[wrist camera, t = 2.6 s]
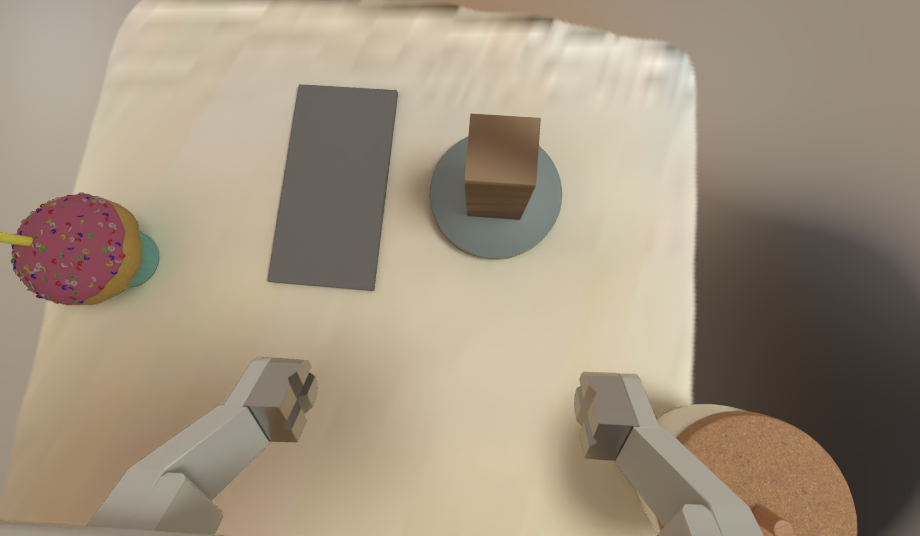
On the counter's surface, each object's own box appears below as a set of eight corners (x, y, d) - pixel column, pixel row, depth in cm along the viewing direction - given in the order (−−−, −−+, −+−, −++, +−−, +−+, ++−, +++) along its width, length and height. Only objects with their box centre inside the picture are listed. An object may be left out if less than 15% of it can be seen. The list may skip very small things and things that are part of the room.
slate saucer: (555, 264, 31) (564, 258, 28) (425, 254, 31) (419, 246, 28) (562, 140, 32) (572, 121, 29) (437, 132, 33) (433, 112, 30)
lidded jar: (778, 512, 28) (931, 611, 18) (641, 555, 28) (726, 675, 18) (721, 372, 29) (836, 396, 20) (592, 412, 29) (647, 456, 20)
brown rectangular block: (520, 220, 30) (536, 185, 22) (467, 216, 31) (464, 180, 23) (523, 169, 31) (540, 118, 23) (471, 165, 31) (470, 113, 23)
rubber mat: (374, 290, 31) (372, 290, 31) (270, 281, 32) (267, 281, 31) (397, 93, 33) (396, 90, 33) (301, 87, 34) (298, 84, 33)
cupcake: (79, 305, 32) (-154, 297, 20) (95, 210, 33) (-117, 150, 21) (175, 308, 32) (-5, 302, 20) (188, 212, 33) (25, 151, 21)
